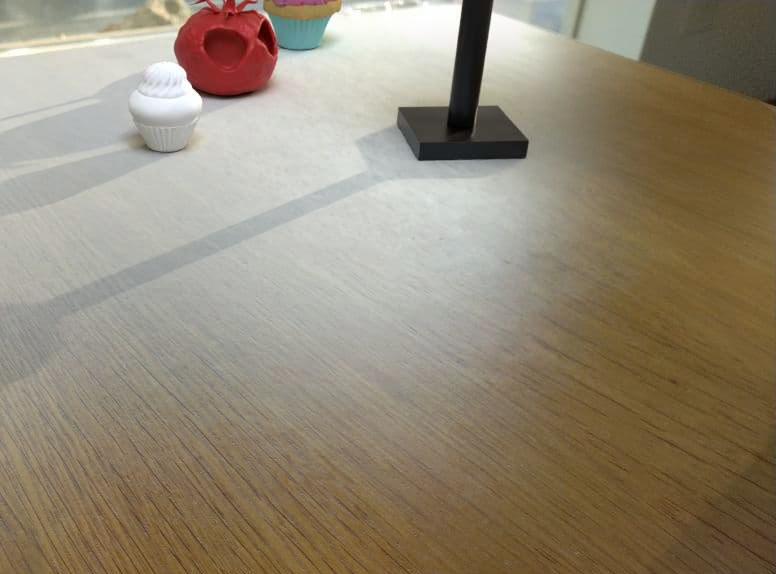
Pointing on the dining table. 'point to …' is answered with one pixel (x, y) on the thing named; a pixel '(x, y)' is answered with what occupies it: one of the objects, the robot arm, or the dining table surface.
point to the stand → (464, 105)
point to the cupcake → (300, 21)
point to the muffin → (165, 107)
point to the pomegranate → (227, 49)
